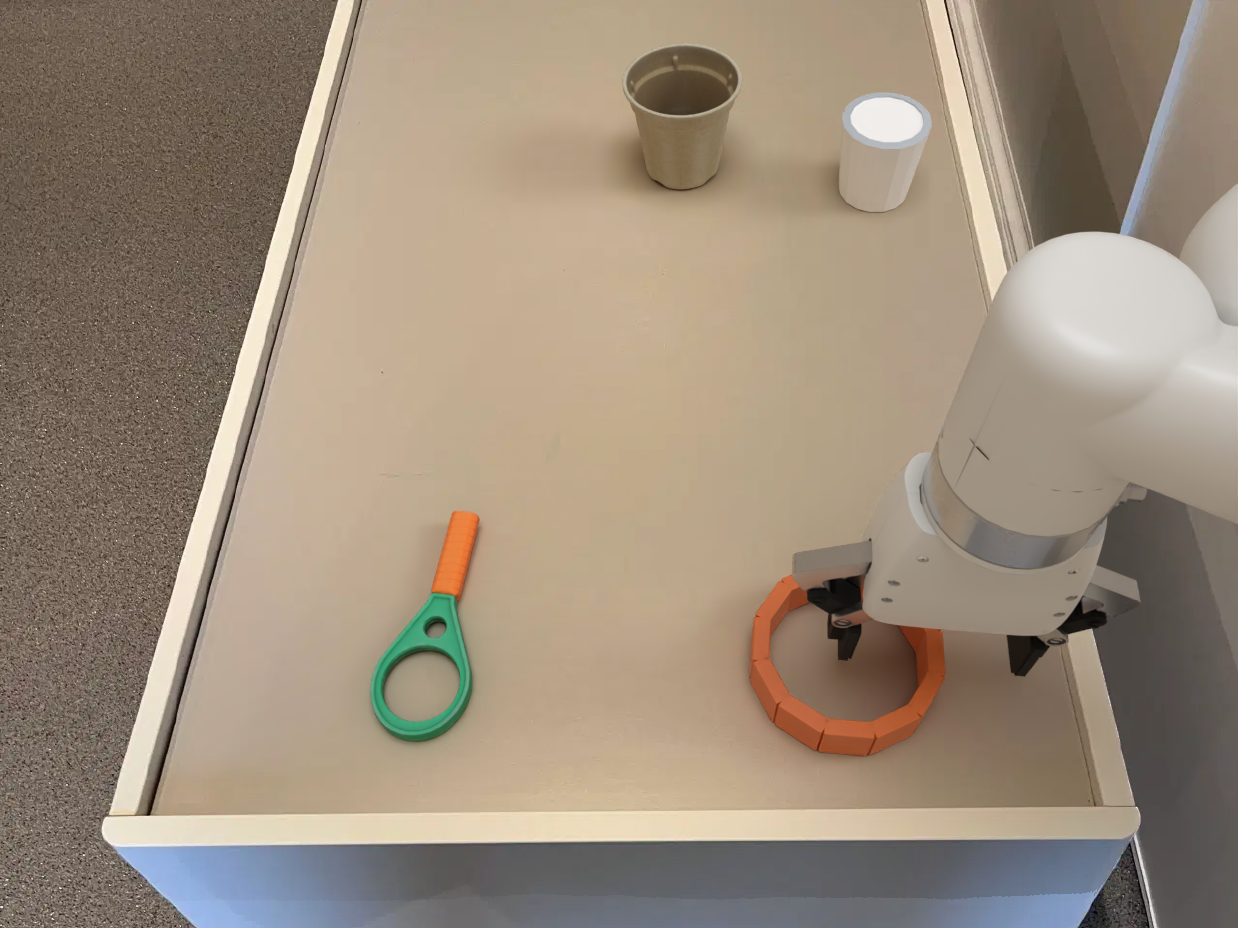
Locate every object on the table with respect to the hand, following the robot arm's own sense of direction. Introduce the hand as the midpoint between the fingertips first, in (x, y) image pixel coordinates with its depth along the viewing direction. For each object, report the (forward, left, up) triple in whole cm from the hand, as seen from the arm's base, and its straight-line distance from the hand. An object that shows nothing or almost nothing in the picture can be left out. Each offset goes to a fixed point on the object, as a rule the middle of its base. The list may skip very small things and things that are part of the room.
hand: (928, 644), depth 60 cm
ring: (+4, 0, -4) cm, 6 cm away
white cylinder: (+1, -42, -4) cm, 43 cm away
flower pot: (+17, -44, -4) cm, 48 cm away
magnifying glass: (+29, 0, -4) cm, 30 cm away
